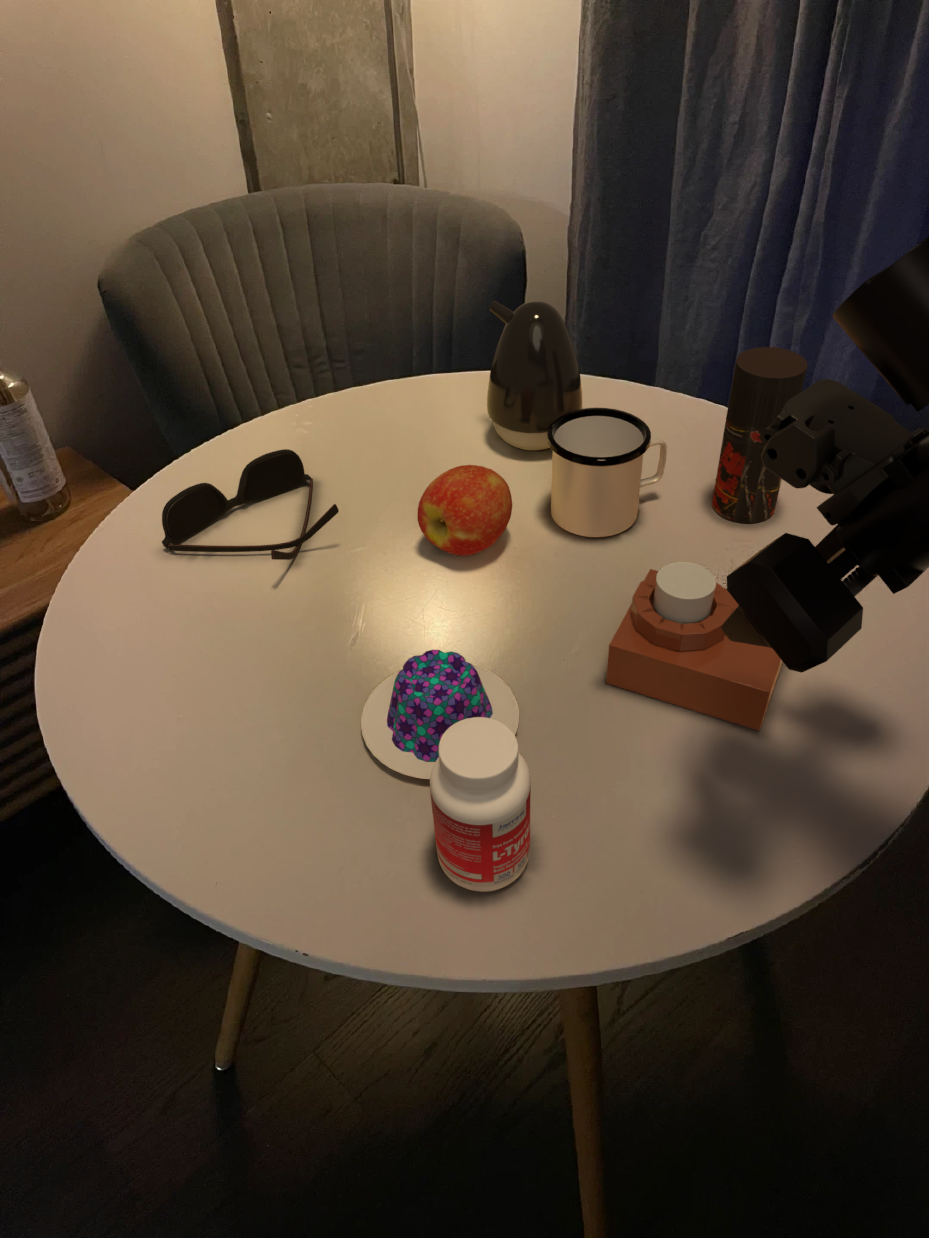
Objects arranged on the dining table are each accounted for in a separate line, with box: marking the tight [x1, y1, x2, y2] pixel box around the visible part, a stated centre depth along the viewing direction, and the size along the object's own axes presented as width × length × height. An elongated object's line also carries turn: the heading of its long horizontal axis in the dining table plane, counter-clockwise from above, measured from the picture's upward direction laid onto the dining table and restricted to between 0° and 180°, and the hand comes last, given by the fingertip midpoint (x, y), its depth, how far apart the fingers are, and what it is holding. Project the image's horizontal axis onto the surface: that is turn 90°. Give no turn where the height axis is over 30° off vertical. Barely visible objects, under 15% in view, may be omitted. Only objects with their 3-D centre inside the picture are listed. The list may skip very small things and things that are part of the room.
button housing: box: [605, 568, 784, 731], centre depth 69 cm, size 12×10×6 cm
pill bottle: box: [429, 717, 532, 893], centre depth 55 cm, size 6×6×11 cm
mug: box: [547, 407, 668, 538], centre depth 84 cm, size 12×9×9 cm
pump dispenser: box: [486, 300, 583, 451], centre depth 93 cm, size 10×10×15 cm
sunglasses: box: [161, 448, 339, 561], centre depth 84 cm, size 17×14×5 cm
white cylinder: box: [653, 561, 717, 624], centre depth 67 cm, size 4×4×3 cm
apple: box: [416, 464, 513, 556], centre depth 82 cm, size 8×8×8 cm
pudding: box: [360, 649, 520, 780], centre depth 66 cm, size 12×12×5 cm
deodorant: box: [711, 346, 809, 525], centre depth 82 cm, size 6×6×15 cm
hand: (769, 597), depth 56 cm, fingers open, 9 cm apart
